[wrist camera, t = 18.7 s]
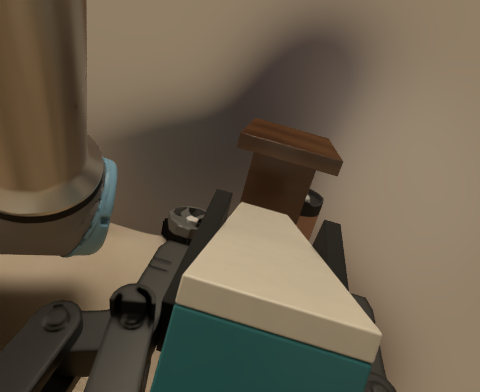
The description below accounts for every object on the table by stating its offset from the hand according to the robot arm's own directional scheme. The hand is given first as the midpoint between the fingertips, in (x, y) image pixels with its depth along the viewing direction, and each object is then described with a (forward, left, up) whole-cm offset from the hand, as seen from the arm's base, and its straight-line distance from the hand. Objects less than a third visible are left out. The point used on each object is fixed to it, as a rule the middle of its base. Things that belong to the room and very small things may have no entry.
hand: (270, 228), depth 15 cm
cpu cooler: (-33, +31, -29) cm, 54 cm away
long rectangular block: (0, +1, -5) cm, 6 cm away
